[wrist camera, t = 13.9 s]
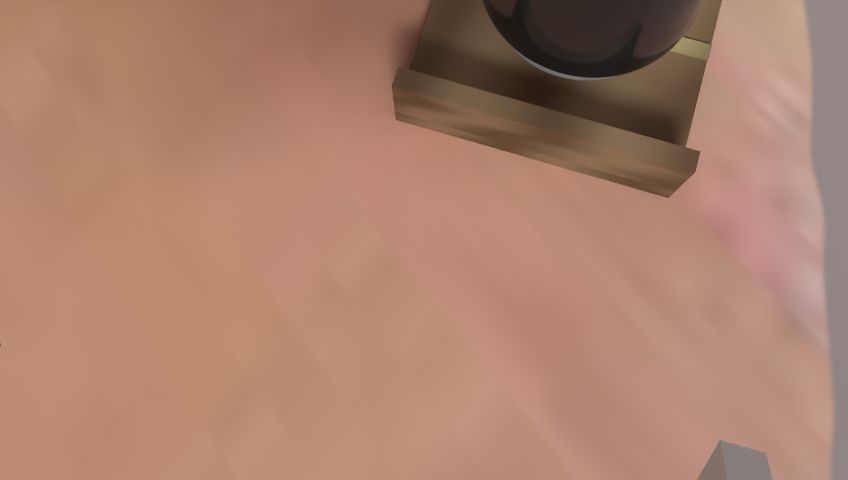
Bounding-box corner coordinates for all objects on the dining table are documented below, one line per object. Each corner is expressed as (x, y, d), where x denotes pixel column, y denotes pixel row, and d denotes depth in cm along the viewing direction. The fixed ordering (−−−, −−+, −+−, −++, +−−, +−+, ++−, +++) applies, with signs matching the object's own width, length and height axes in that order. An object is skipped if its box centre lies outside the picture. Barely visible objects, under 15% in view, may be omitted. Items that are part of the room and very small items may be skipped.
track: (396, 119, 39) (392, 85, 35) (479, -127, 42) (484, -183, 38) (668, 197, 38) (695, 171, 34) (732, -62, 41) (763, -112, 37)
